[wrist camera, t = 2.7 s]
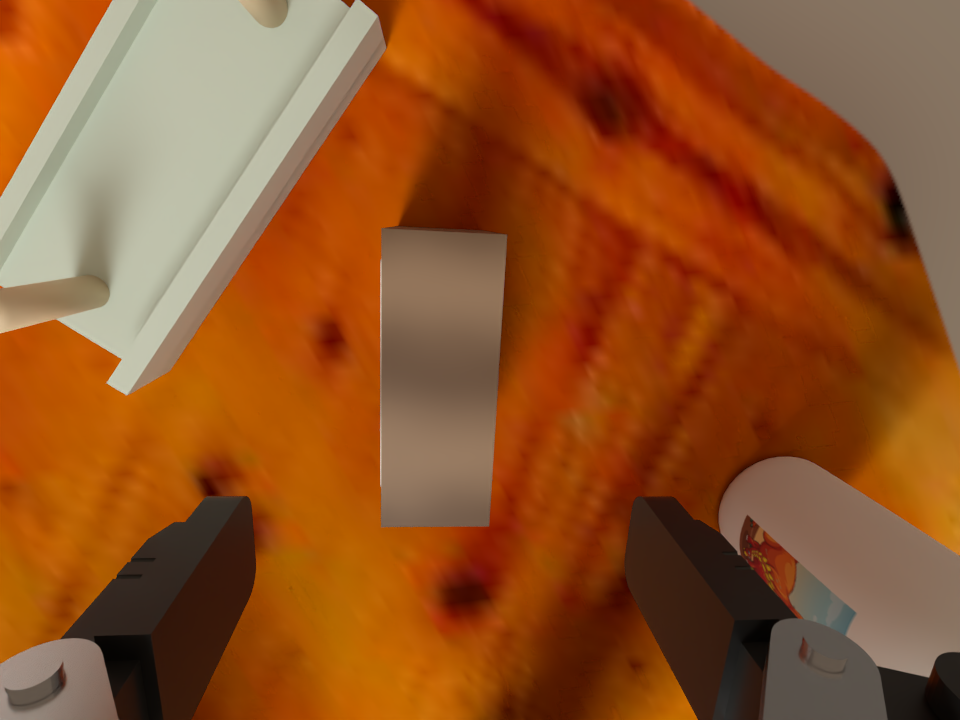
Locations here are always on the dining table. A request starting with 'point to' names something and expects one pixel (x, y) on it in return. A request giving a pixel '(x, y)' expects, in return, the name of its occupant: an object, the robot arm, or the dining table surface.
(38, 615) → the dining table surface
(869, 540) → the milk bottle
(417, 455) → the wooden block
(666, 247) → the dining table surface
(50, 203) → the ledge
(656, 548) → the robot arm
